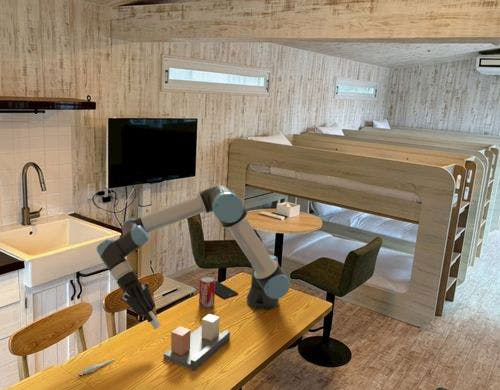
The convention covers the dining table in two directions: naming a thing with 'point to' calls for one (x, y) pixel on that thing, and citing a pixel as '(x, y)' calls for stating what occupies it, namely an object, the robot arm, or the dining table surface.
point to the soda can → (207, 292)
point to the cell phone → (224, 291)
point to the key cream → (210, 327)
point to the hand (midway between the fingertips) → (157, 327)
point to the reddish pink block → (180, 340)
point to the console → (198, 350)
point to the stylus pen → (94, 367)
